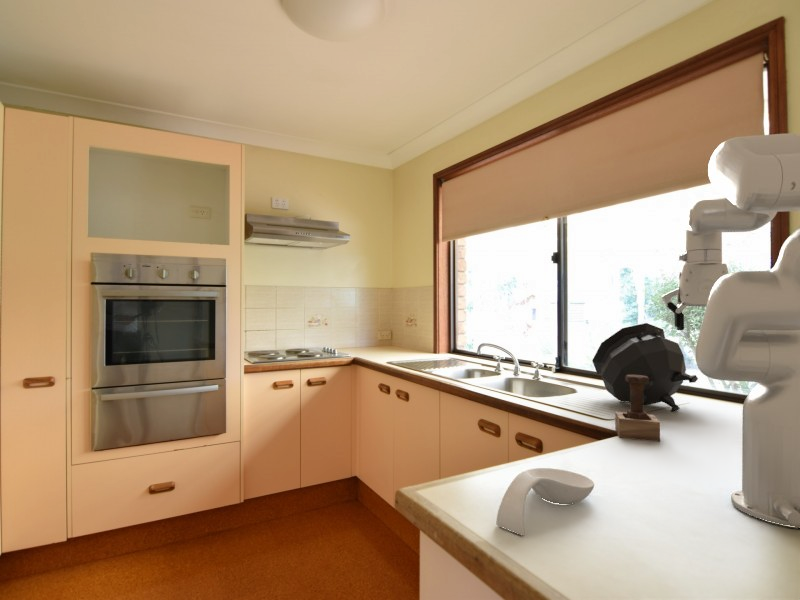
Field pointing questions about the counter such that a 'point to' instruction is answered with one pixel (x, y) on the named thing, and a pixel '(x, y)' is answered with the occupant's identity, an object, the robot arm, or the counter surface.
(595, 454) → the counter surface
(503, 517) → the spoon rest
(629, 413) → the bolt
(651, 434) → the holder
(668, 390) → the black cauldron
